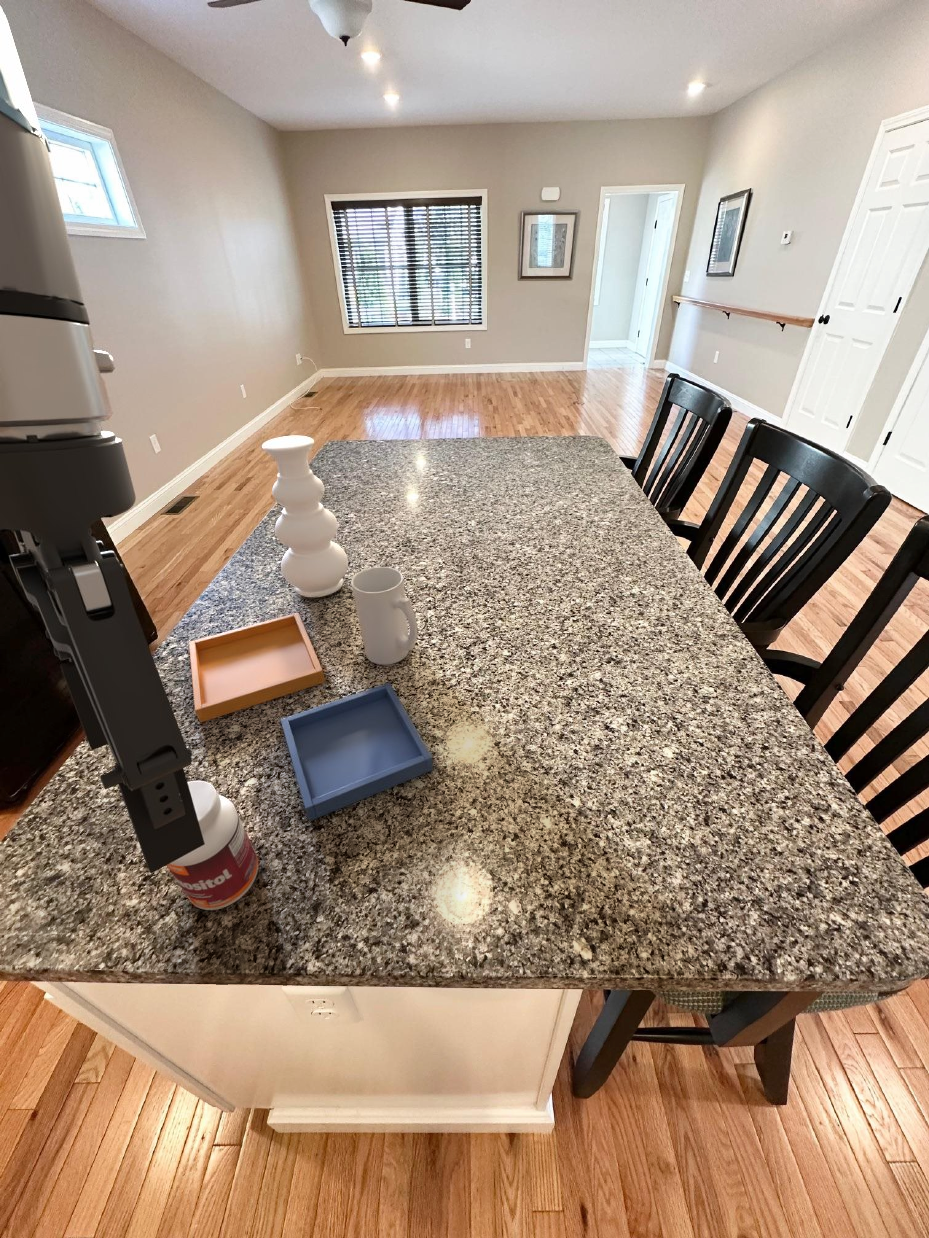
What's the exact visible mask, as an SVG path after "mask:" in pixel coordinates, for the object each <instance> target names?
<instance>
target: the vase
mask: <svg viewBox="0 0 929 1238" xmlns="http://www.w3.org/2000/svg"><path fill="white" fill-rule="evenodd" d="M314 444H315V440H314V438H312V437H309V436H306V435H287V436H279V437H275V438H271V439H269V440H266V441H265V442H263V444H262V445H261V449H262V450H263V451H264V452H265V453H266V454H267V455H269V456H270V457H271V458H272V459H273V460H274V462H275V463H276V467H277V472H278V473H277V476H276V478H277V480H276V481H275V482H274V484H273V486H272V488H271V489H272V490H271V494H272V497H273V499H274V500H275V502H276V503H278V504H279V505H281V507H283V508H282V511H281V514H280V516H279V517H278V518H277V520H276V522H275V525H274V533H275V536H276V538H277V540H278V541H279V542H280V543H281V544H282V545H284V546H285V547H287V548H288V549H287V551H285V553H284V555H283V556H282V559H281V561H280V562H281V563H280V570H281V573H282V576H283V578H284V580H286V582H287V583H288V584H290V585H291V586H293V587H294V590H295V592H296V594H298V595H300V596H302V597H306V598H321V597H326V596H329V595H332V594H335V593H336V592H337V591H339V590H340V589H341V588H342V587H343V585H344V577H345V575H346V574H347V571H348V568H349V559H348V555H347V553H346V551H345V550H344V549H343V548H342V547H341V546H340V545H339V544H337V543H336V542H334V541H332V540H334V538H335V537H336V535H337V533H338V529H339V524H338V523H339V522H338V520H337V518H336V516H335V515H334V514H333V512H331V511H330V510H329V509H327V508H326V507H324V505H323V504H322V503H321V502H320V501H321V500H322V499H323V497H324V495H325V490H326V489H325V485H324V483H323V481H322V480H321V479H320V478H319V477H317V476H316V475H315V474H314V472H313V470H312V469H311V468H310V465H309V459H308V457H309V454H310V452H311V450H312V448H313V446H314Z"/></svg>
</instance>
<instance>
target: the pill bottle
mask: <svg viewBox="0 0 929 1238" xmlns="http://www.w3.org/2000/svg"><path fill="white" fill-rule="evenodd" d="M187 783H188V786H189V790H190V793H191V797H192V800H193V804H194V808H195V811H196V815H197V818H198V822H199V825H200V829H201V832H202V836H203V840H204V843H205V845H203V846H201V847H199V848H197V849H195V850H194V851H192V852H190V853H188V854H186V855H184V856H183V857H181V858H179V859H177V860H175V861H173V862H172V863H170V864H168V865H166V867H167V868H168V870H169V871H170V873H171V875H172V876H173V878H174V879H175V880H176V882H177V884H178V885H179V887H180V889H181V890H182V891H183V893H184V894H185V896H186V898H187V899H188V900H189V902H190V904H192V905H193V906H195V907H196V908H198V909H201V910H205V911H215V910H220V909H224V908H226V907H229V906H230V905H232V904H234V903H235V902H237V901H238V900H240V899H241V898H242V897H244V896H245V894H246V893H248V892H249V890H250V889H251V887H252V886H253V884H254V882H255V880H256V878H257V876H258V872H259V871H258V870H259V859H258V855H257V852H256V850H255V848H254V846H253V844H252V842H251V838H250V837H249V835H248V832H247V831H246V828H245V826H244V824H243V822H242V820H241V818H240V815H239V813H238V811H237V809H236V807H235V805H234V804H233V802H232V801H231V800H230V799H229V798H227V797H225V796H224V795H222V794H221V795H220V794H219V793H218V791H217V790H216V788H215V787H214V786H213V784H211V783H210V782H207V781H205V780H192V781H187Z"/></svg>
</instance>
